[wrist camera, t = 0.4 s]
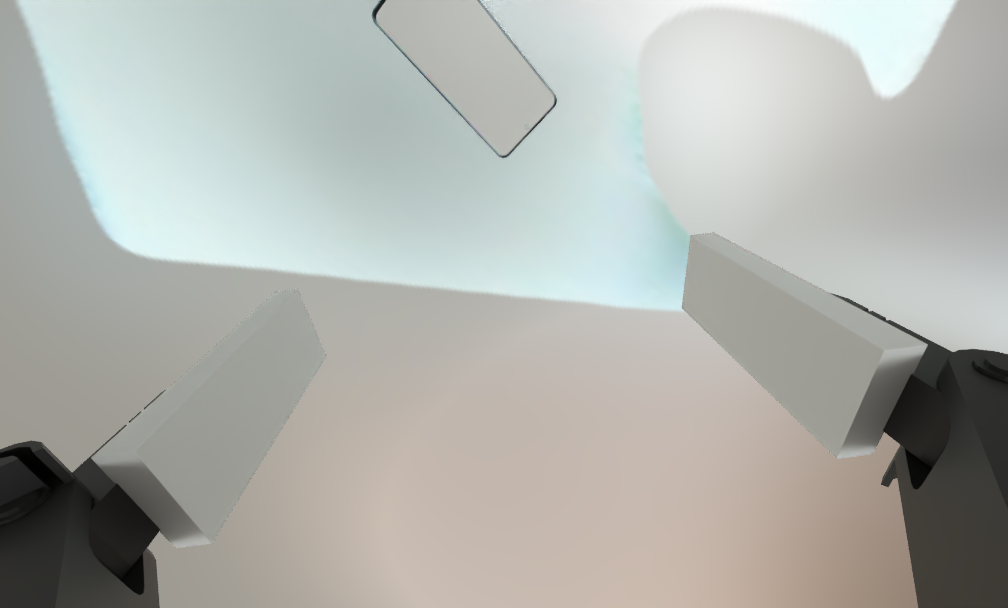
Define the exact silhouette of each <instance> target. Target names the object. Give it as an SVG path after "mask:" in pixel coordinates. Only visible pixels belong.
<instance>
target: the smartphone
mask: <svg viewBox="0 0 1008 608" xmlns="http://www.w3.org/2000/svg"><path fill="white" fill-rule="evenodd" d="M372 18H373V21H374V23H375V24H376V25H377V26H378V27H379V28H380V29H381V31H382V32H383V33H384V34H385V35H386V36H387V37H388V38H389V39H390V40H391V41H392V42H393V43H394V44H395V45H396V47H397V48H398V49H399V50H400V51H401V52H402V53H403V54H404V55H405V56H406V57H407V58H408V59H409V60H410V62H411V63H412V64H413V65H414V66H415V67H416V68H417V69H418V70H419V71H420V72H421V73H422V74H423V75H424V77H425V78H426V79H427V80H428V81H429V82H430V83H431V84H432V85H433V86H434V87H435V88H436V89H437V90H438V92H439V93H440V94H441V95H442V96H443V97H444V98H445V99H446V100H447V101H448V102H449V103H450V104H451V105H452V107H453V108H454V109H455V110H456V111H457V112H458V113H459V114H460V115H461V116H462V117H463V118H464V119H465V120H466V121H467V123H468V124H469V125H470V126H471V127H472V128H473V129H474V130H475V131H476V132H477V134H478V135H479V136H480V137H481V138H482V139H483V140H484V141H485V142H486V143H487V144H488V145H489V146H490V147H491V149H493V150H494V151H495V153H496V154H497V155H498V156H499V157H502V158H505V157H508V156H509V155H510V154H511V153H512V151H513V150H514V149H515V148H516V147H517V146H518V145H519V144H520V143H521V142H522V141H523V140H524V139H525V138H526V137H527V135H528V134H529V133H530V132H531V131H532V130H533V129H534V128H535V127H536V126H537V125H538V124H539V123H540V122H541V121H542V119H543V118H544V117H545V116H546V115H547V114H548V113H549V112H550V111H551V110H552V109H553V108H554V107H555V105H556V102H557V99H556V96H555V94H554V93H553V92H552V91H551V89H550V88H549V87H548V86H547V84H546V83H545V82H544V81H543V79H542V78H541V77H540V76H539V74H538V73H537V72H536V71H535V69H534V68H533V67H532V66H531V64H530V63H529V62H528V61H527V59H526V58H525V57H524V56H523V54H522V53H521V52H520V51H519V49H518V48H517V47H516V46H515V44H514V43H513V42H512V41H511V39H510V38H509V37H508V36H507V34H506V33H505V32H504V31H503V29H502V28H501V27H500V26H499V24H498V23H497V22H496V21H495V19H494V18H493V17H492V16H491V14H490V13H489V12H488V11H487V9H486V8H485V7H484V6H483V4H482V3H481V2H480V1H479V0H380V1H379V3H378V4H377V6H376V7H375V8H374V10H373V13H372Z"/></svg>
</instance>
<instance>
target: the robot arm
mask: <svg viewBox="0 0 1008 608" xmlns="http://www.w3.org/2000/svg"><path fill="white" fill-rule="evenodd" d="M682 309H683V310H684V311H685V312H686V313H688V314H689V315H690V316H691V317H692V318H693V319H694V320H695V321H696V322H697V323H698V324H699V325H700V326H701V327H702V328H703V329H704V330H705V331H706V332H707V333H708V334H709V335H710V336H711V337H712V338H713V339H714V340H715V341H716V342H717V343H718V344H719V345H720V346H721V347H722V348H724V349H725V350H726V351H727V352H728V353H729V354H730V355H731V356H732V357H733V358H734V359H735V360H736V361H737V362H738V363H739V364H740V365H741V366H742V367H743V368H744V369H745V370H746V371H747V372H748V373H749V374H750V375H751V376H752V377H753V378H754V379H755V380H756V381H757V382H758V383H760V384H761V385H762V386H763V387H764V388H765V389H766V390H767V391H768V392H769V393H770V394H771V395H772V396H773V397H774V398H775V399H776V400H777V401H778V402H779V403H780V404H781V405H782V406H783V407H784V408H785V409H786V410H787V411H788V412H789V413H790V414H791V415H792V416H793V417H794V418H795V419H796V420H797V421H798V422H800V423H801V425H803V426H804V427H805V428H806V429H807V430H808V431H809V432H810V433H811V434H812V435H813V436H814V437H815V438H816V439H817V440H818V441H819V442H820V443H821V444H822V445H823V446H824V447H825V448H826V449H827V450H828V451H829V452H831V454H832V455H833V456H834V457H835V458H837V459H838V458H845V457H853V456H860V455H867V454H873V453H874V451H875V449H876V447H877V445H878V443H879V440H880V439H881V437H882V435H883V433H884V432H885V433H887V434H888V435H889V436H890V437H892V438H893V439H894V440H896V441H897V442H898V443H899V444H900V447H899V449H898V451H897V452H896V454H895V456H894V458H893V460H892V461H891V463H890V465H889V467H888V469H887V471H886V472H885V474H884V476H883V479H882V483H881V485H884V486H887V487H889V485H890V483H891V482H892V480H893V479H895V478H898V484H899V491H900V495H901V502H902V508H903V515H904V521H905V526H906V533H907V539H908V546H909V551H910V558H911V564H912V571H913V577H914V583H915V589H916V595H917V602H918V608H1008V354H1004V353H999V352H995V351H986V350H978V349H969V350H958V351H956V352H954V353H953V352H951V351H949V350H947V349H946V348H944V347H941V346H940V345H938V344H936V343H934V342H932V341H930V340H928V339H926V338H924V337H922V336H920V335H918V334H916V333H914V332H912V331H910V330H908V329H906V328H905V327H903V326H900V325H899V324H897V323H895V322H893V321H891V320H888V321H887V320H886V318H885V317H883V316H881V315H879V314H877V313H875V312H873V311H870V312H869V311H868V309H867V308H865V307H863V306H862V305H860V304H858V303H856V302H853V301H852V300H850V299H848V298H844V297H841V296H838V295H835V294H831V293H829V292H826V291H825V290H823V289H821V288H819V287H817V286H815V285H813V284H811V283H809V282H807V281H806V280H803V279H802V278H800V277H798V276H796V275H794V274H792V273H790V272H788V271H786V270H784V269H783V268H781V267H779V266H777V265H775V264H773V263H771V262H769V261H767V260H765V259H763V258H762V257H759V256H758V255H756V254H754V253H752V252H750V251H748V250H746V249H744V248H742V247H740V246H738V245H737V244H735V243H733V242H731V241H729V240H727V239H725V238H723V237H721V236H719V235H718V234H715V233H705V234H697V235H691V236H690V244H689V252H688V260H687V269H686V277H685V285H684V294H683V302H682ZM325 358H326V354H325V351H324V349H323V347H322V344H321V342H320V339H319V337H318V335H317V332H316V330H315V328H314V325H313V323H312V321H311V318H310V316H309V313H308V311H307V309H306V306H305V304H304V302H303V299H302V297H301V294H300V292H299V290H298V289H291V290H284V291H276V292H274V293H273V294H272V295H271V296H270V297H269V298H268V299H266V300H265V301H264V302H263V303H262V304H261V305H260V306H259V307H258V308H257V309H255V310H254V311H253V312H252V313H251V314H250V315H249V316H248V317H246V318H245V320H243V321H242V322H241V323H240V324H239V325H238V326H237V327H235V328H234V329H233V330H232V331H231V332H230V333H229V334H228V335H227V336H225V337H224V338H223V339H222V340H221V341H220V342H219V343H218V344H217V345H216V346H214V347H213V348H212V349H211V350H210V351H209V352H208V353H207V354H205V355H204V356H203V357H202V358H201V359H200V360H199V361H198V362H197V363H196V364H194V365H193V366H192V367H191V368H190V369H189V370H188V371H187V372H186V373H185V374H183V375H182V376H181V377H180V378H179V379H178V380H177V381H175V382H174V383H173V384H172V385H171V386H170V387H169V388H168V389H167V390H165V391H163V392H162V393H161V394H159V395H158V396H157V397H156V398H155V399H154V400H153V401H152V402H151V403H149V404H148V405H147V406H146V407H145V408H144V410H143V411H142V412H140V413H138V414H137V415H136V416H135V417H134V418H133V419H132V420H130V421H129V424H128V425H125V426H124V427H123V428H122V429H121V430H119V431H118V432H117V433H116V434H115V435H114V436H113V437H111V438H110V439H109V440H108V441H107V442H106V443H105V444H104V445H103V446H101V448H99V449H98V450H97V451H96V452H95V453H94V454H93V455H92V456H90V457H89V458H88V459H87V460H86V461H85V462H84V463H83V464H81V465H80V466H79V467H78V468H77V469H76V470H75V471H74V472H73V473H72V472H71V471H70V470H68V469H67V468H66V467H65V465H64V464H63V463H62V462H61V461H60V460H59V459H58V458H57V457H56V456H54V455H53V453H51V451H50V450H49V449H48V448H47V447H46V446H45V445H43V443H42V442H36V441H28V442H23V443H18V444H14V445H11V446H8V447H6V448H3V449H1V450H0V608H160V607H159V594H158V581H157V569H156V559H155V557H154V555H153V554H152V553H151V551H150V550H149V549H147V547H148V546H149V544H150V543H151V542H152V540H153V539H154V537H155V536H156V535H157V533H158V532H159V531H160V532H161V533H162V534H163V535H164V537H166V539H167V540H168V541H169V542H170V543H171V544H172V545H173V546H174V547H175V548H181V547H188V546H194V545H203V544H210V543H212V542H213V541H214V539H215V537H216V536H217V534H218V532H219V531H220V529H221V528H222V526H223V524H224V523H225V521H226V519H227V518H228V516H229V514H230V513H231V511H232V510H233V508H234V506H235V505H236V503H237V501H238V500H239V498H240V496H241V495H242V493H243V491H244V490H245V488H246V487H247V485H248V483H249V482H250V480H251V479H252V477H253V475H254V474H255V472H256V470H257V469H258V467H259V465H260V464H261V462H262V461H263V459H264V457H265V456H266V454H267V452H268V451H269V449H270V447H271V446H272V444H273V443H274V441H275V439H276V438H277V436H278V434H279V432H280V431H281V429H282V428H283V426H284V425H285V423H286V421H287V420H288V418H289V416H290V415H291V413H292V412H293V410H294V408H295V407H296V405H297V403H298V402H299V400H300V398H301V397H302V395H303V393H304V392H305V390H306V389H307V387H308V385H309V383H310V382H311V380H312V379H313V377H314V376H315V374H316V372H317V371H318V369H319V367H320V366H321V364H322V363H323V361H324V359H325Z"/></svg>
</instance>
